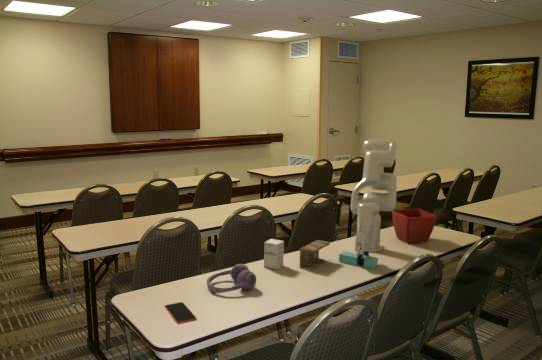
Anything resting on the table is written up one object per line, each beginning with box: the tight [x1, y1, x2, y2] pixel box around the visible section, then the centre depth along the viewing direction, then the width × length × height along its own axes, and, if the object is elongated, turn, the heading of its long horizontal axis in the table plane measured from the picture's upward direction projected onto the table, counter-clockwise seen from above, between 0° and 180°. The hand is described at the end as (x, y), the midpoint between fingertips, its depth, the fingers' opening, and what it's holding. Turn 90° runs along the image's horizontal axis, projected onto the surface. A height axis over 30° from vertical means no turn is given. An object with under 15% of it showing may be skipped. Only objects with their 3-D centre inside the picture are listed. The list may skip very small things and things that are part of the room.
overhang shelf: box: [299, 239, 331, 269], centre depth 229 cm, size 18×7×10 cm, turn 147°
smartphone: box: [164, 301, 198, 325], centre depth 173 cm, size 8×17×1 cm, turn 29°
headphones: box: [206, 263, 257, 294], centre depth 198 cm, size 18×8×20 cm
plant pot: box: [391, 208, 438, 245], centre depth 271 cm, size 19×19×17 cm
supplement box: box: [263, 238, 285, 270], centre depth 224 cm, size 7×7×13 cm
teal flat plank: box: [338, 250, 379, 270], centre depth 230 cm, size 6×18×4 cm, turn 57°
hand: (362, 263), depth 229 cm, fingers closed on teal flat plank, 6 cm apart
